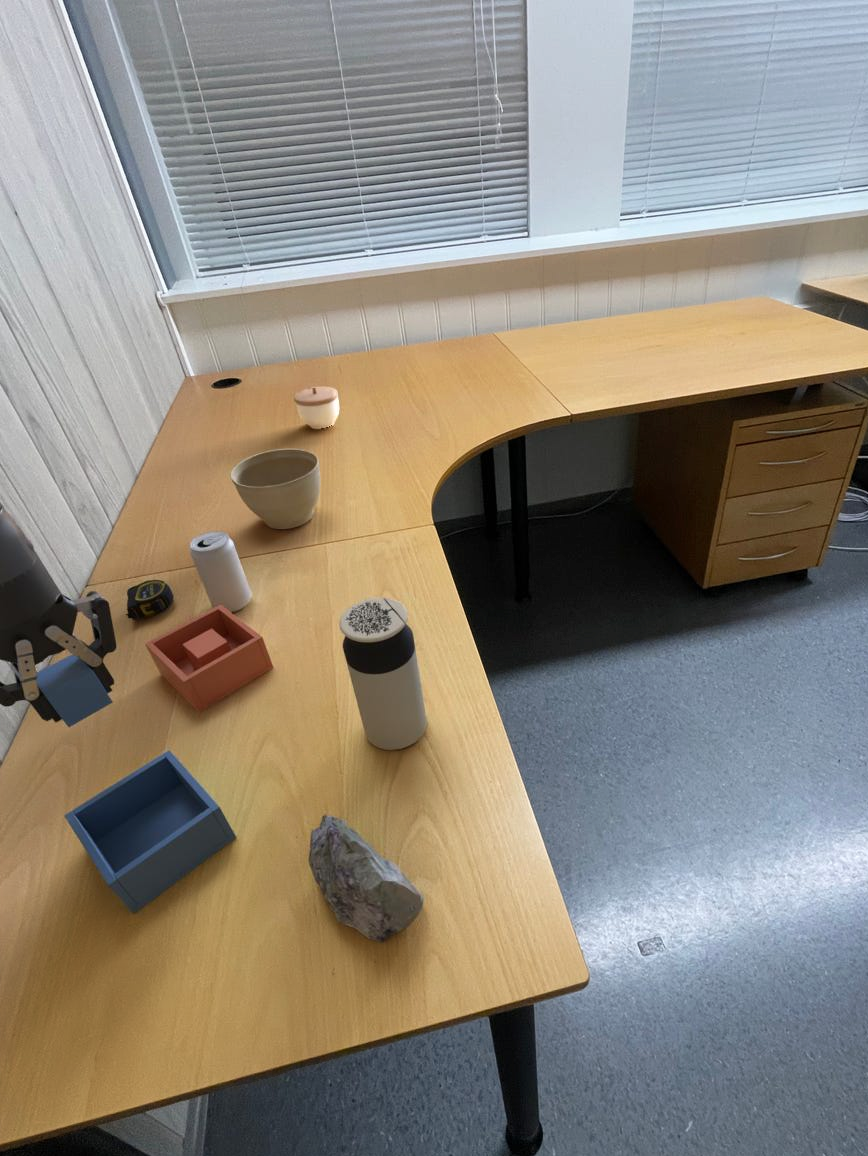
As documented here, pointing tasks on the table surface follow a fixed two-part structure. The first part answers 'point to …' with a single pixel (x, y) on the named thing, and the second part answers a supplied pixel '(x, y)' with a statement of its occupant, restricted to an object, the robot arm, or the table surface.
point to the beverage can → (220, 570)
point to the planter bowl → (279, 486)
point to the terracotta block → (206, 648)
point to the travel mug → (384, 672)
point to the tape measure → (148, 599)
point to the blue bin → (150, 830)
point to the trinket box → (318, 406)
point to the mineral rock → (361, 882)
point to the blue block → (72, 689)
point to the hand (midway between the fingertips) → (81, 702)
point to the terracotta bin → (219, 674)
